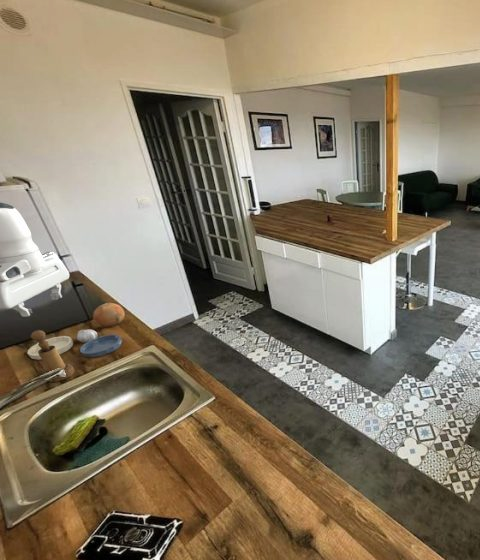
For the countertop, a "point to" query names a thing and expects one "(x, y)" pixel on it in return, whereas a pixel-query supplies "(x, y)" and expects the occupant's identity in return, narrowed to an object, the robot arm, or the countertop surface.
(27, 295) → the robot arm
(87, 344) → the slate saucer
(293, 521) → the countertop surface
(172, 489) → the countertop surface
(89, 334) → the garlic
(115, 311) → the onion
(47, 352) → the mortar and pestle
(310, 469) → the countertop surface
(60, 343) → the cream saucer
